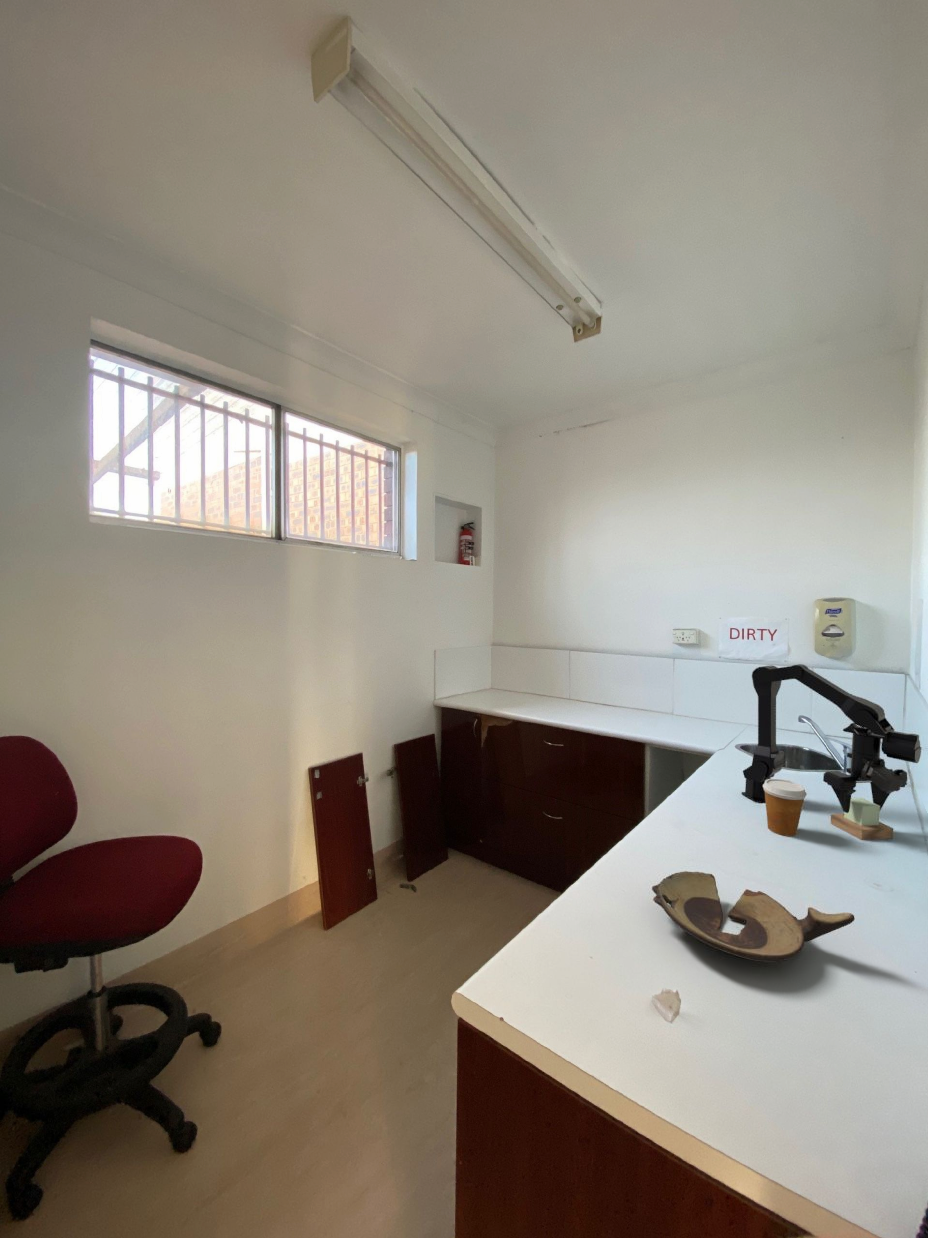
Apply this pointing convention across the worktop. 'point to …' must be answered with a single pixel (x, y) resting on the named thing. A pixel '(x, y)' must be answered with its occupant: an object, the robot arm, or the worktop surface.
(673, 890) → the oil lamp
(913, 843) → the worktop surface
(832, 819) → the walnut base
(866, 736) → the robot arm
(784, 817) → the disposable coffee cup
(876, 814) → the sage block
